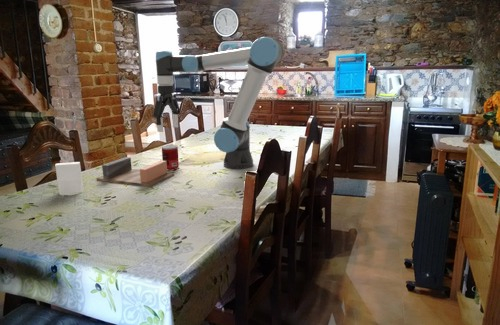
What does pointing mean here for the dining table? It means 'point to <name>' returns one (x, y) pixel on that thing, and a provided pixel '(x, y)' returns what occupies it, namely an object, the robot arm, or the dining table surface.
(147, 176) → the block
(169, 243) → the dining table surface
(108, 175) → the vise base
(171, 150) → the canned food
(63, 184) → the white upright block
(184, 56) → the robot arm
